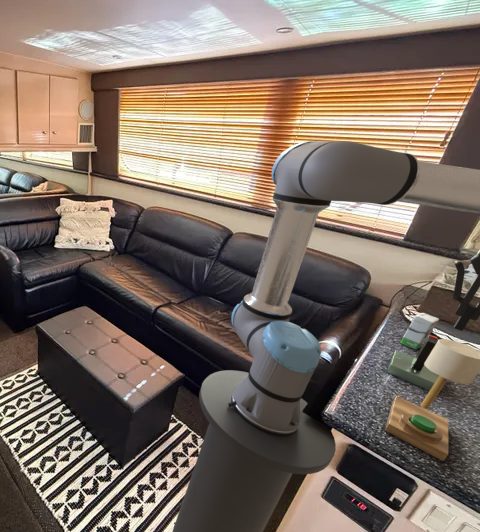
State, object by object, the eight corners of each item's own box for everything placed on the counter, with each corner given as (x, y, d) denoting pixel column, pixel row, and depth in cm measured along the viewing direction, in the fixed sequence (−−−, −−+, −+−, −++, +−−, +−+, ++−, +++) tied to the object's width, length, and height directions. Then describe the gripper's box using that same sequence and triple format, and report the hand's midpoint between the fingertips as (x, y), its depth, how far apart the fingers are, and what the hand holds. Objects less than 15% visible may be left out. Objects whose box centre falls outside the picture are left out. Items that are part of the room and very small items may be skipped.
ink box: (416, 350, 115) (433, 322, 111) (399, 343, 119) (414, 315, 115) (424, 345, 120) (440, 318, 116) (406, 338, 124) (422, 311, 119)
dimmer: (435, 393, 93) (441, 385, 92) (386, 372, 101) (391, 364, 99) (436, 375, 102) (441, 367, 101) (391, 356, 110) (396, 349, 108)
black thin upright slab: (420, 371, 98) (437, 343, 94) (411, 367, 99) (428, 340, 95) (421, 364, 101) (438, 337, 98) (413, 360, 103) (429, 334, 99)
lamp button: (432, 436, 72) (436, 431, 72) (409, 424, 75) (412, 419, 74) (433, 428, 75) (437, 422, 74) (410, 417, 78) (413, 411, 77)
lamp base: (443, 461, 71) (452, 448, 69) (384, 430, 77) (392, 418, 76) (444, 426, 81) (452, 414, 79) (392, 401, 88) (399, 390, 86)
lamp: (414, 413, 78) (453, 353, 72) (396, 391, 86) (430, 335, 79) (455, 424, 76) (499, 363, 70) (432, 401, 83) (470, 344, 77)
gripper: (555, 247, 72) (496, 335, 80) (469, 232, 81) (424, 313, 89) (562, 252, 67) (498, 345, 75) (470, 235, 76) (422, 320, 84)
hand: (458, 328), depth 82 cm, fingers closed
